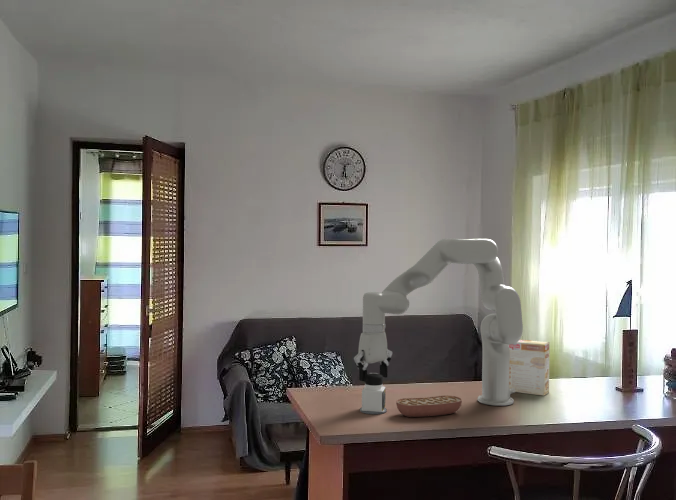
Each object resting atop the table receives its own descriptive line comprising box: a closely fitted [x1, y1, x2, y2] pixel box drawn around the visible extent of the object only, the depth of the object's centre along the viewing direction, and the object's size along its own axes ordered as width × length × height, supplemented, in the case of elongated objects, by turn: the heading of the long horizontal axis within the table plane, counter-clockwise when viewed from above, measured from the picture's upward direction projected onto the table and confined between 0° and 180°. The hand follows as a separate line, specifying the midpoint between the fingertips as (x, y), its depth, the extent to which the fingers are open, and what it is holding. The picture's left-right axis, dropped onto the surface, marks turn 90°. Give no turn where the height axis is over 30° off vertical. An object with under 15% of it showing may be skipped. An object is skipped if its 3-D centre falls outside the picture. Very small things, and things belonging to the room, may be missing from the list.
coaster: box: [359, 406, 387, 415], centre depth 222 cm, size 9×9×1 cm
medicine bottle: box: [361, 372, 386, 412], centre depth 222 cm, size 7×7×12 cm
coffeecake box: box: [508, 339, 550, 397], centre depth 250 cm, size 15×7×20 cm, turn 58°
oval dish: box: [395, 395, 463, 418], centre depth 218 cm, size 23×10×5 cm, turn 107°
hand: (373, 378), depth 222 cm, fingers open, 9 cm apart
